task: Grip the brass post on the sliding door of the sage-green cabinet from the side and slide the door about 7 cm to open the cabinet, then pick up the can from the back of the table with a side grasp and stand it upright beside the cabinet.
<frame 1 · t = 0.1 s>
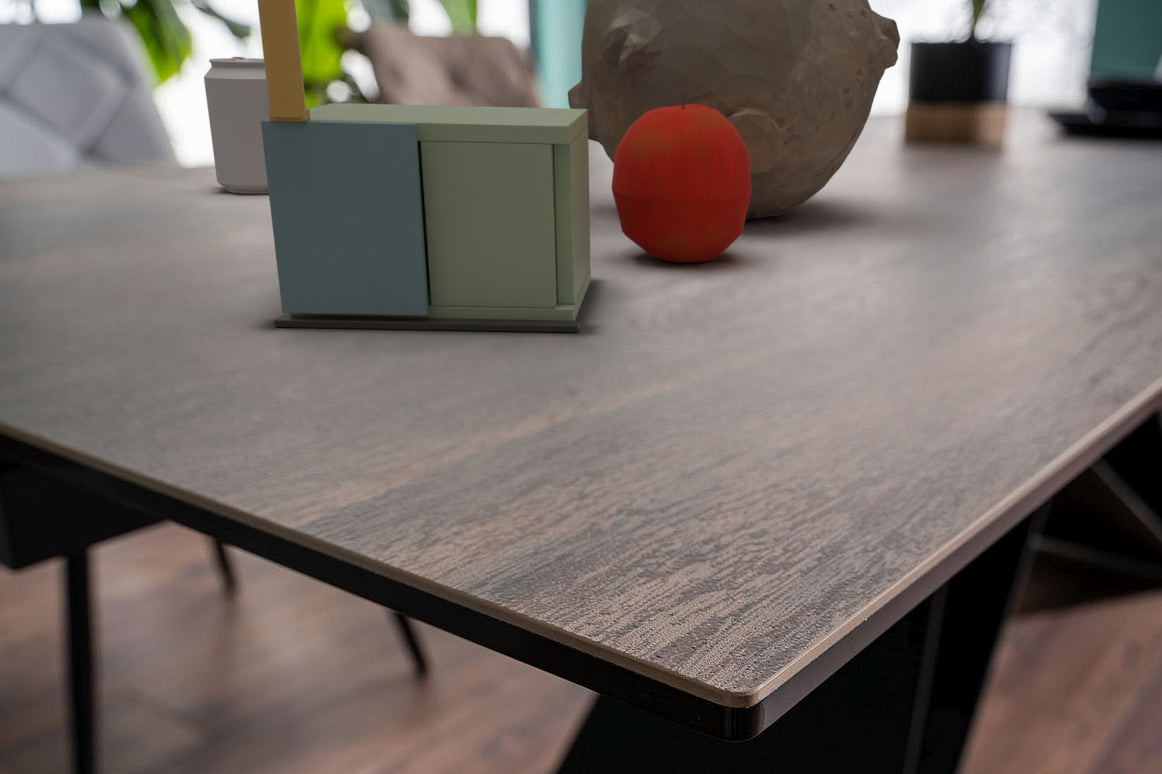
cabinet: (452, 299, 73), on the table
door: (337, 123, 62), point 11 cm above the table, slide at 0.0 cm
can: (260, 191, 114), on the table
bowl: (729, 214, 108), on the table
apple: (682, 260, 87), on the table
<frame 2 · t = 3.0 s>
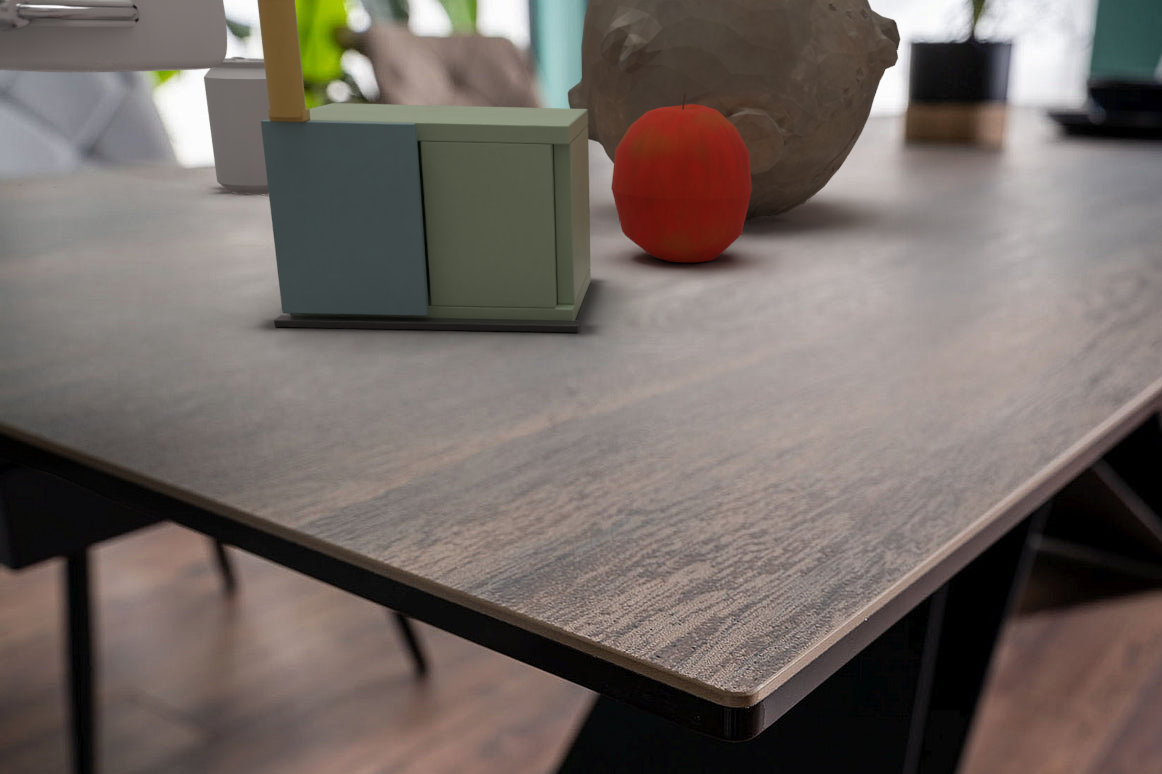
hand: (102, 11, 49), 16 cm above the table, tool horizontal, fingers open, 8 cm apart
nothing on the table moved.
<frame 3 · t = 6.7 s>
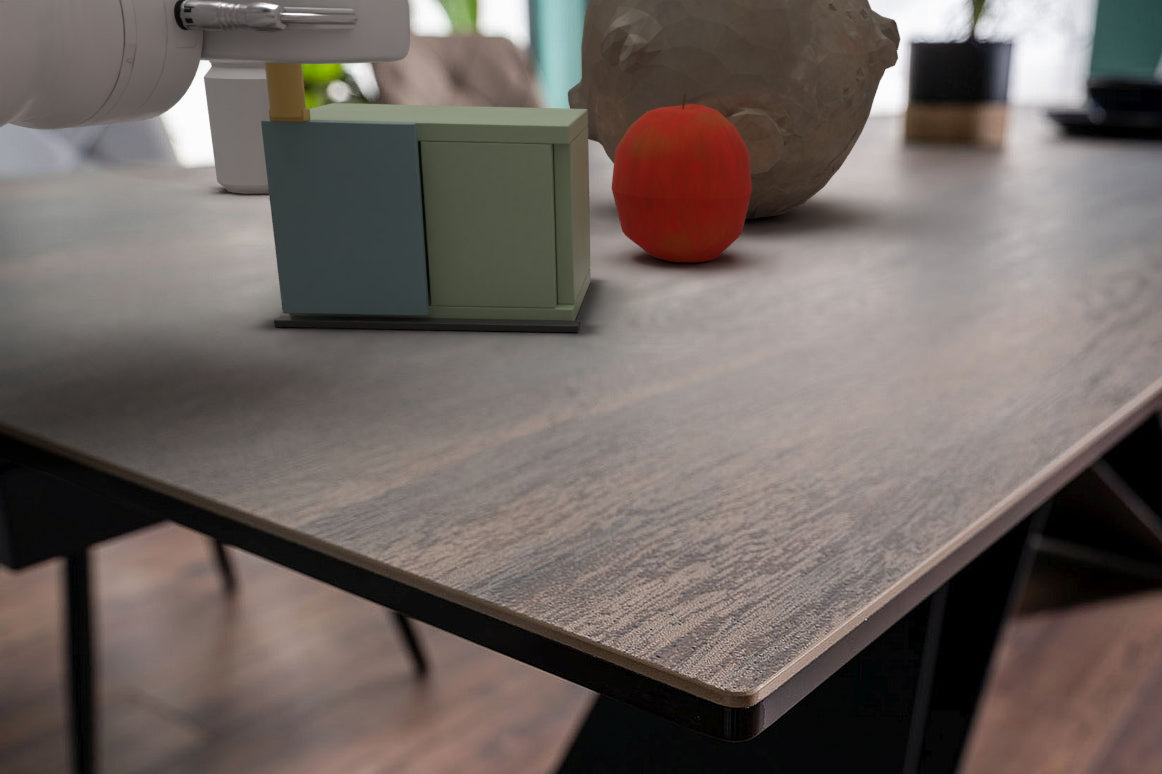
hand: (288, 14, 61), 16 cm above the table, tool horizontal, fingers closed on door, 2 cm apart
door: (337, 123, 62), point 11 cm above the table, slide at 0.0 cm, touching gripper
everything else where it was.
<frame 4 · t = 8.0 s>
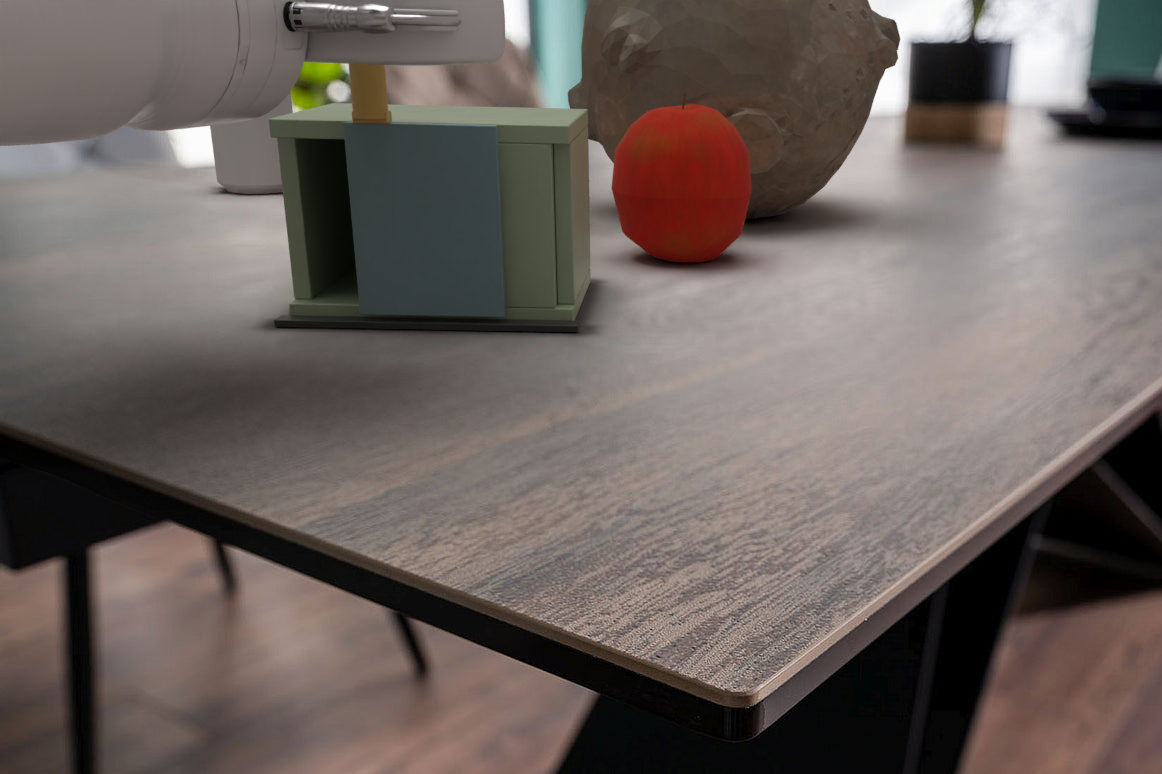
hand: (371, 16, 61), 16 cm above the table, tool horizontal, fingers closed on door, 2 cm apart
door: (419, 125, 62), point 11 cm above the table, slide at 4.3 cm, touching gripper
everything else where it was.
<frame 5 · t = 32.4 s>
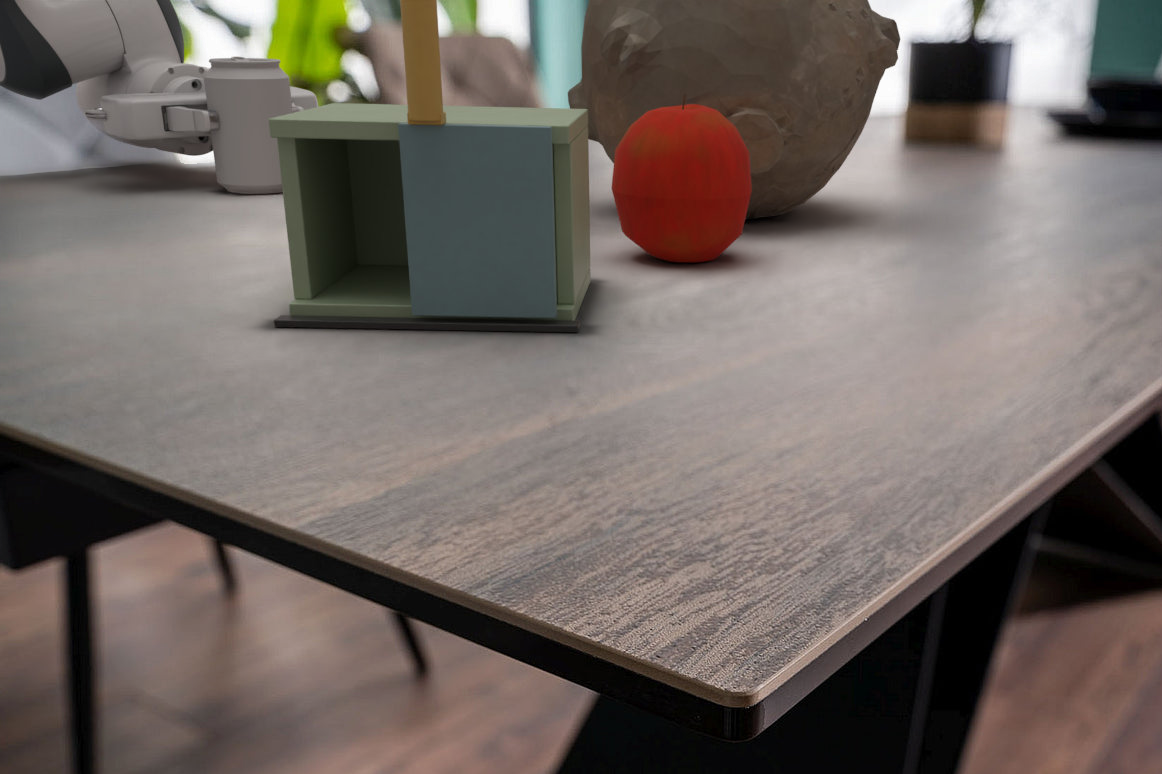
hand: (257, 119, 111), 7 cm above the table, tool horizontal, fingers closed on can, 7 cm apart
door: (474, 126, 62), point 11 cm above the table, slide at 7.2 cm
can: (260, 191, 114), on the table, touching gripper
everything else where it was.
when the fingers open (7 cm above the table, at t = 43.9 s): can stays where it is, on the table.
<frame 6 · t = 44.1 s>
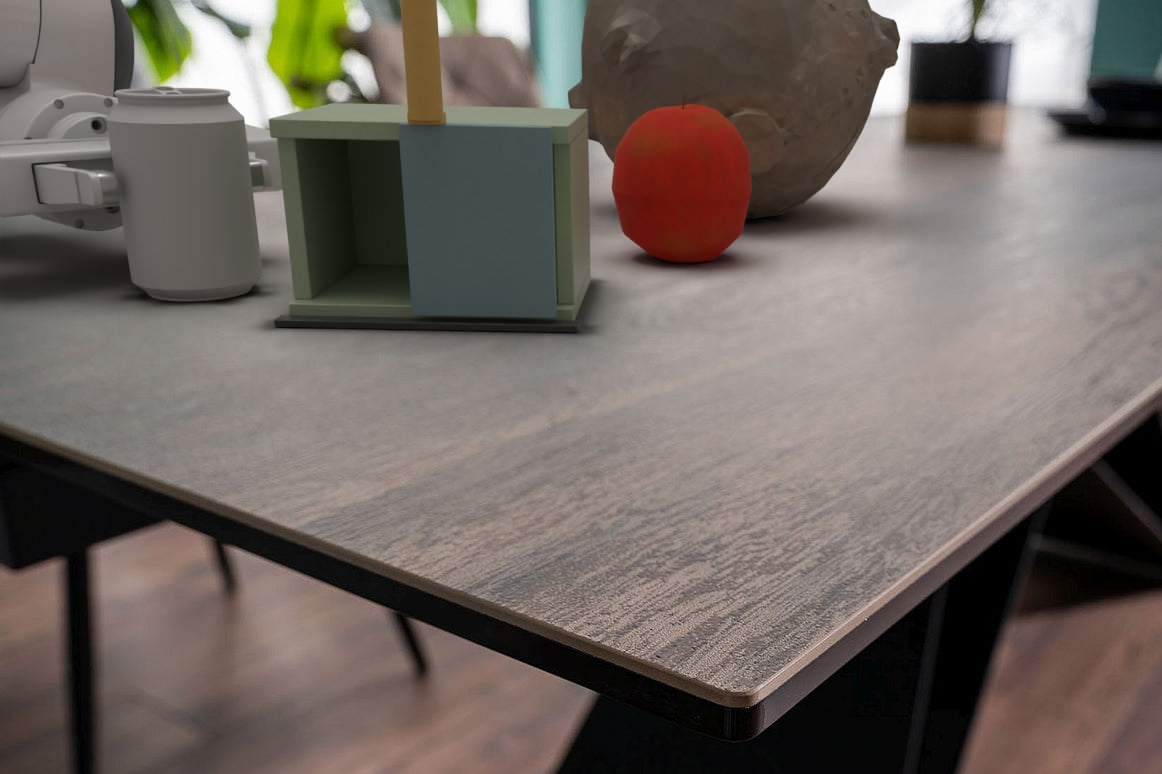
hand: (186, 182, 71), 7 cm above the table, tool horizontal, fingers open, 8 cm apart
can: (201, 294, 74), on the table, touching gripper
everything else where it was.
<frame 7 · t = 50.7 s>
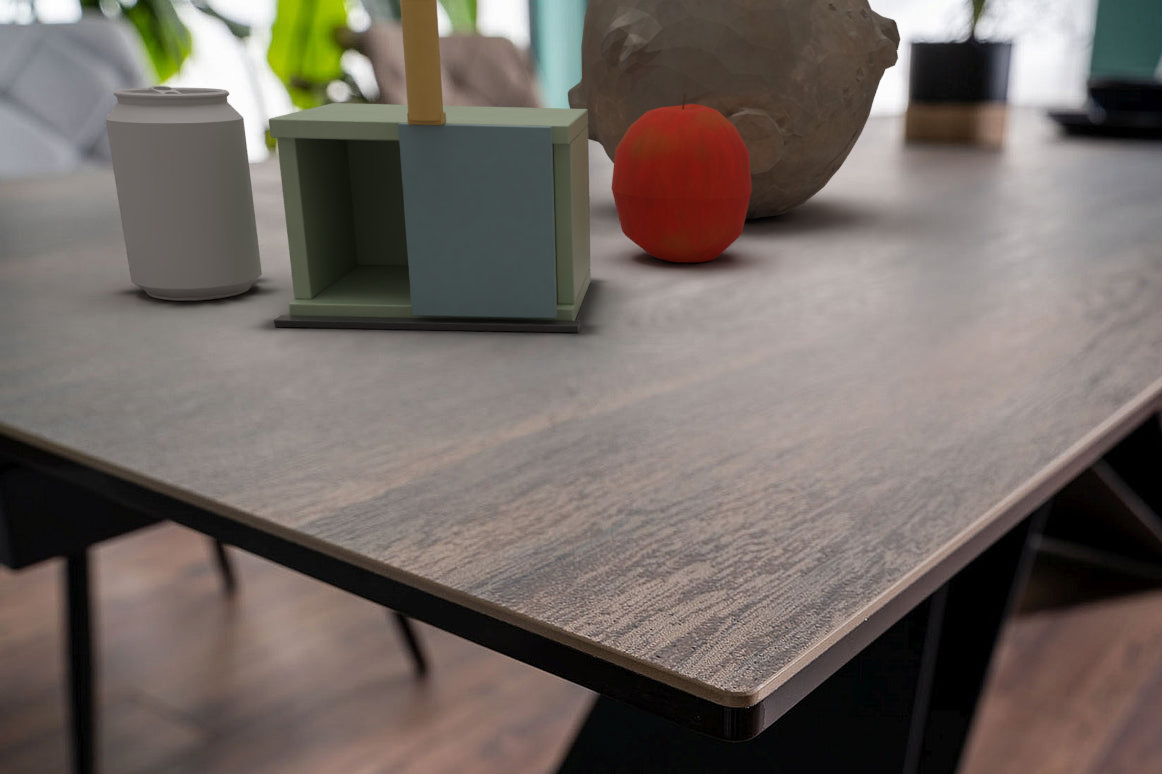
can: (200, 293, 74), on the table
everything else where it was.
at the end: door slide at 7.2 cm; can inside the target area on the table beside the cabinet (0.7 cm from its centre), on the table; can tilted 0° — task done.
